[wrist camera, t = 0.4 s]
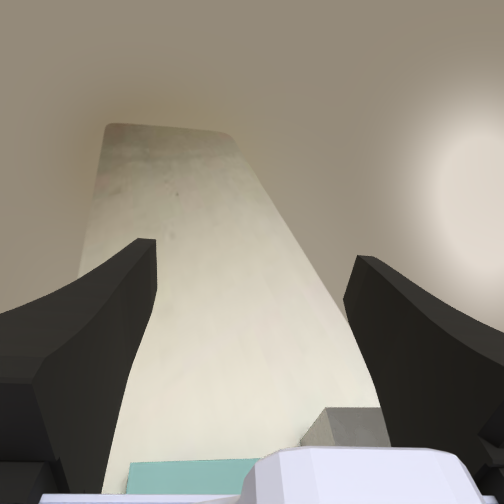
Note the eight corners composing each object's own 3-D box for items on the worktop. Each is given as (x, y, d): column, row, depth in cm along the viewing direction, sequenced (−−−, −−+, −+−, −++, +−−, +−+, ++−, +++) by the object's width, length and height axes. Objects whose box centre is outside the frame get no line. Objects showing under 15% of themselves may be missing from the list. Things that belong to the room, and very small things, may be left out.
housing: (399, 585, 23) (452, 570, 19) (329, 594, 21) (371, 580, 18) (354, 440, 29) (387, 407, 26) (299, 441, 28) (325, 407, 24)
